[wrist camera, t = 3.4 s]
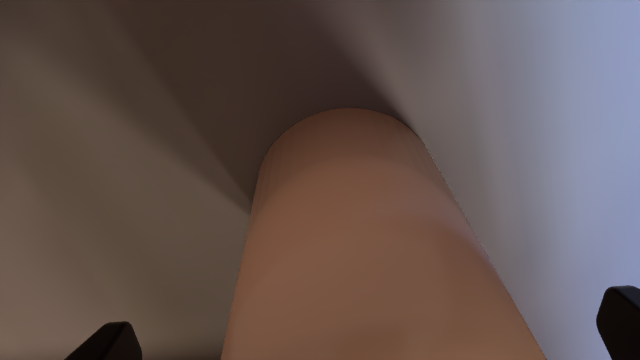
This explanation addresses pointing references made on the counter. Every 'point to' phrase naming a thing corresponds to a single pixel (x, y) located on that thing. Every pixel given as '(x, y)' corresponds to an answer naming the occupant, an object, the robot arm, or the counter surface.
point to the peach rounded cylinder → (365, 255)
